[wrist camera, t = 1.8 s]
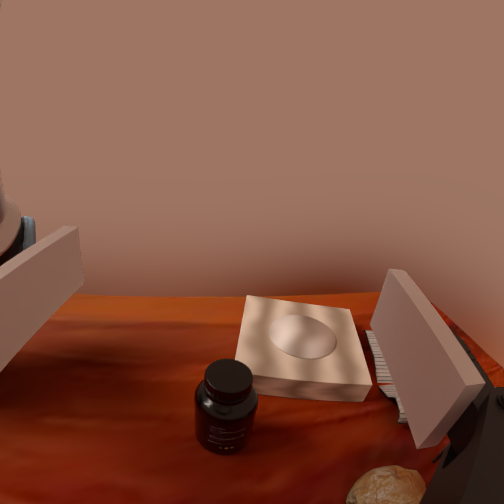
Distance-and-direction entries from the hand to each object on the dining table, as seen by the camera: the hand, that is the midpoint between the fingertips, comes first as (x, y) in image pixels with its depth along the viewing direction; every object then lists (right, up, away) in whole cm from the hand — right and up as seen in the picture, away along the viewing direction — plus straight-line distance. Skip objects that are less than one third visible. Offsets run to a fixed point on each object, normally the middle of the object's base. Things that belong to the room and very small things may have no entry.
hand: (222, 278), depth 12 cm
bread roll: (+16, -29, +12) cm, 35 cm away
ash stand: (+9, -16, +37) cm, 42 cm away
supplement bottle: (-3, -22, +21) cm, 31 cm away
